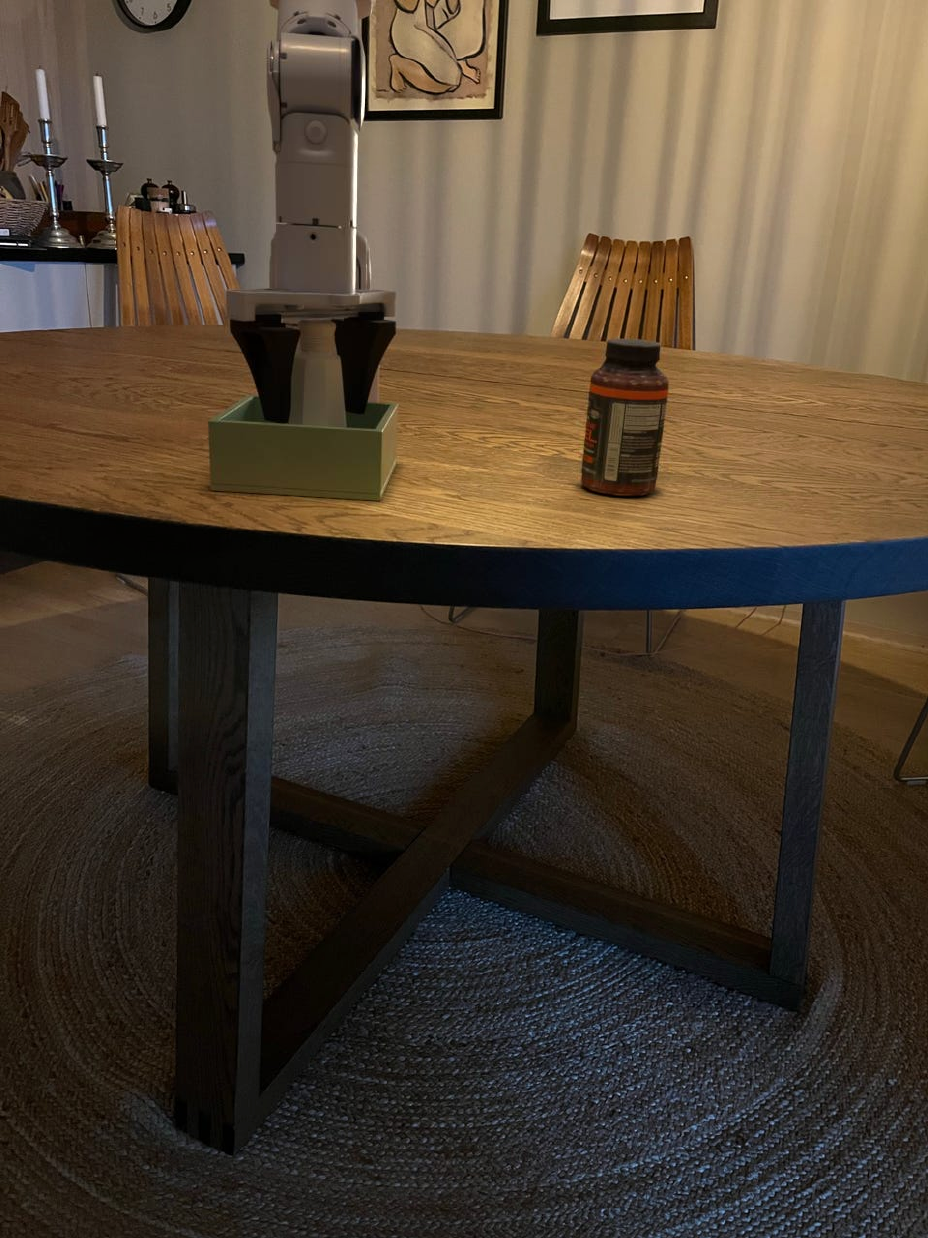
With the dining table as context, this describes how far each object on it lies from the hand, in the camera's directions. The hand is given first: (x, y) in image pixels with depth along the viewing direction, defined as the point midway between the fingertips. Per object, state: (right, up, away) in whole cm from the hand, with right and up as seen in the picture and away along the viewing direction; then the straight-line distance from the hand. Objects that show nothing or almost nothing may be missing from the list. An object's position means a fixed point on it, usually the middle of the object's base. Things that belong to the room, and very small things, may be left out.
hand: (316, 416), depth 76 cm
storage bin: (-1, -5, +1) cm, 5 cm away
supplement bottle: (+23, -5, +2) cm, 24 cm away
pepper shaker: (0, -4, +1) cm, 4 cm away
